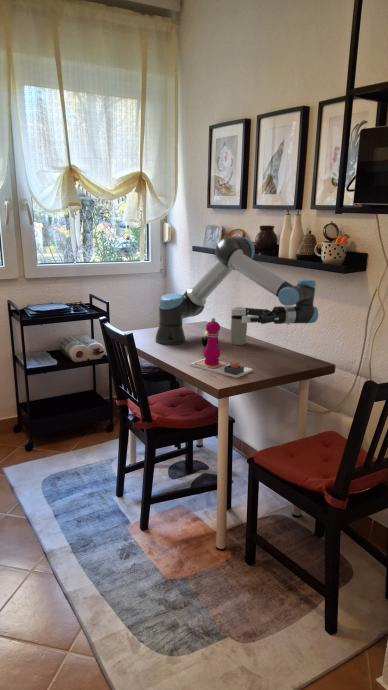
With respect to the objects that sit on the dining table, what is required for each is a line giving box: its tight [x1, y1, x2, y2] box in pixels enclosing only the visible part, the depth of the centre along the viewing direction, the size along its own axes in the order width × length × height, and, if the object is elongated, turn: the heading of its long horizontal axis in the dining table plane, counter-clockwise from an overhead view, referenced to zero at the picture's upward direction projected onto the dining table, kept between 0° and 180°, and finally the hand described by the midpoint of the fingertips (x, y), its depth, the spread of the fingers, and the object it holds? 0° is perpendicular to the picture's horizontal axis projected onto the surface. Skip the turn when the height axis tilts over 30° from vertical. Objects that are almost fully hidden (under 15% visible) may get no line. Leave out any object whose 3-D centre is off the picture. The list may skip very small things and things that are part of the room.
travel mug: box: [229, 306, 249, 346], centre depth 253 cm, size 8×8×18 cm
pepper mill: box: [203, 317, 221, 365], centre depth 214 cm, size 7×7×20 cm
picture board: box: [189, 357, 254, 379], centre depth 214 cm, size 12×24×3 cm, turn 51°
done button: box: [229, 361, 240, 369], centre depth 206 cm, size 4×4×2 cm
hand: (236, 315), depth 213 cm, fingers open, 13 cm apart
